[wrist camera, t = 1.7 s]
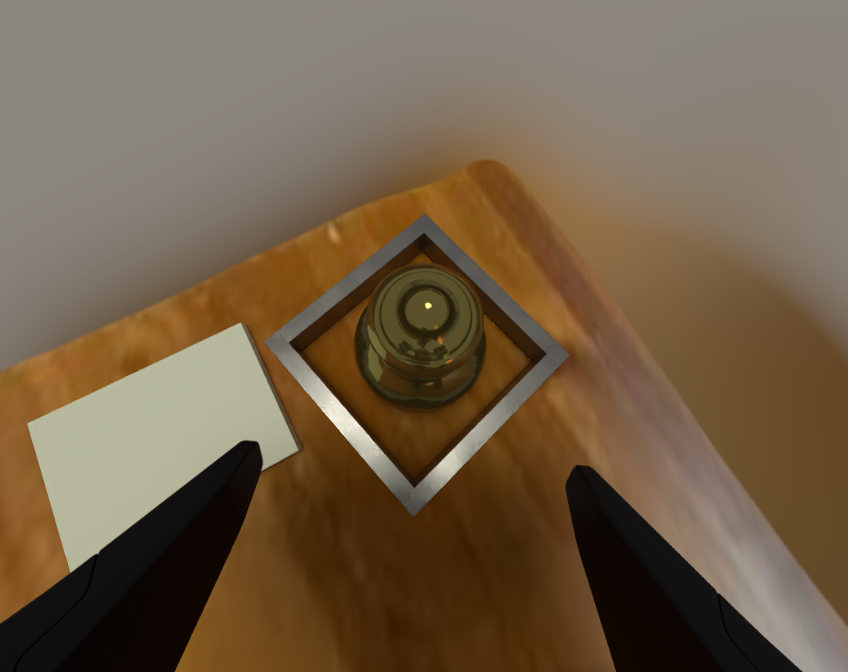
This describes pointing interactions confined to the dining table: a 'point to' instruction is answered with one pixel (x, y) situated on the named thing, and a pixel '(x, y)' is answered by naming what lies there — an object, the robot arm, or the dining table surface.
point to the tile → (155, 437)
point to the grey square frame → (361, 285)
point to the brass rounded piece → (421, 338)
